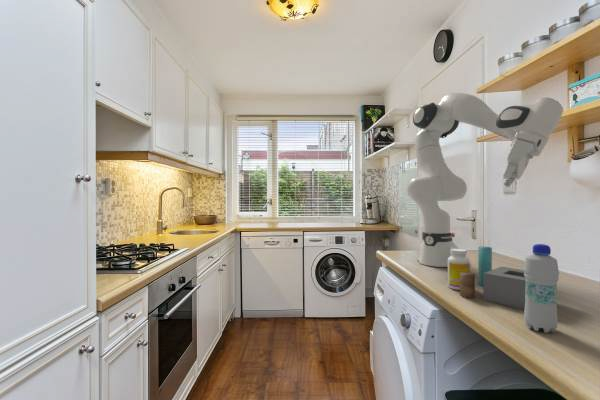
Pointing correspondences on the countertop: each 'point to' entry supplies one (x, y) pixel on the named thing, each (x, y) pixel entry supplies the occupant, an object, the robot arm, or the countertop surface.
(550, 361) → the countertop surface
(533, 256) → the bottle
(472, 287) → the short pin
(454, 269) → the supplement bottle
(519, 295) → the hole block
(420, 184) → the robot arm
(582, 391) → the countertop surface
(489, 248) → the long pin
